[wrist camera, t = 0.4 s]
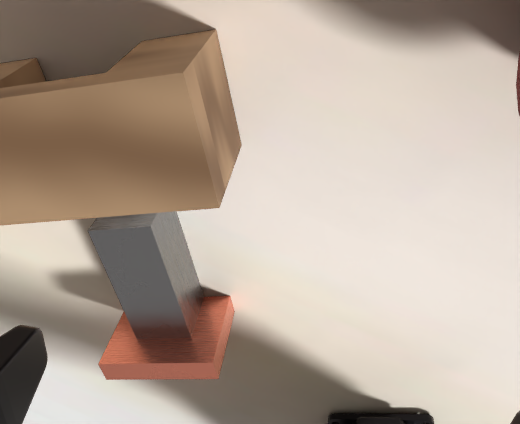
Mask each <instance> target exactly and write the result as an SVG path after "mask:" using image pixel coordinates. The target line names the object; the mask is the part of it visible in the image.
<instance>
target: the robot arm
mask: <svg viewBox="0 0 520 424" xmlns="http://www.w3.org/2000/svg"><path fill="white" fill-rule="evenodd" d="M46 365H47V352H46V347H45V343H44V338H43V334H42V331H41V330H40V329H39V328H36V327H31V326H25V325H19V326H17V327H14V328H13V329H11V330H10V331H8V332H7V333H5V334H3V335H2V336H0V424H22V423H23V421H24V418H25V416H26V413H27V411H28V409H29V406H30V404H31V402H32V399H33V397H34V394H35V392H36V390H37V387H38V385H39V383H40V380H41V378H42V375H43V373H44V371H45V368H46ZM328 424H434V419H433V417H432V416H430V415H426V414H331V415H329V416H328ZM511 424H520V411H519V412H518V413H517V414H516V415H515V417H514V419H513V420H512V422H511Z"/></svg>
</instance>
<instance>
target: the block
mask: <svg viewBox="0 0 520 424" xmlns="http://www.w3.org/2000/svg"><path fill="white" fill-rule="evenodd" d="M240 148H241V140H240V136H239V131H238V126H237V122H236V117H235V113H234V108H233V104H232V99H231V95H230V90H229V86H228V81H227V77H226V72H225V68H224V63H223V58H222V54H221V49H220V45H219V40H218V36H217V31H216V30H210V31H203V32H197V33H191V34H184V35H178V36H172V37H165V38H159V39H153V40H146V41H142V42H141V43H139V44H138V45H137V46H136V47H135V48H134V49H132V50H131V51H130V52H129V53H128V54H127V55H126V56H124V57H123V58H122V59H121V60H120V61H119V62H118V63H116V64H115V65H114V66H113V67H112V68H111V69H110V70H108V71H107V72H106V73H101V74H94V75H87V76H81V77H74V78H67V79H60V80H53V81H46V79H45V77H44V75H43V72H42V70H41V68H40V65H39V63H38V61H37V58H32V59H26V60H19V61H13V62H7V63H0V225H11V224H24V223H36V222H49V221H61V220H74V219H86V218H99V217H111V216H124V215H136V214H148V213H161V212H173V211H186V210H198V209H211V208H219V207H220V205H221V202H222V199H223V196H224V193H225V190H226V188H227V185H228V182H229V179H230V176H231V173H232V171H233V168H234V165H235V162H236V159H237V157H238V154H239V151H240Z"/></svg>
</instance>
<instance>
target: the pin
mask: <svg viewBox="0 0 520 424" xmlns="http://www.w3.org/2000/svg"><path fill="white" fill-rule="evenodd" d="M88 232H89V235H90V237H91V239H92V241H93V244H94V246H95V248H96V250H97V252H98V255H99V257H100V259H101V261H102V263H103V266H104V268H105V270H106V272H107V274H108V277H109V279H110V281H111V283H112V286H113V288H114V290H115V292H116V294H117V297H118V299H119V301H120V303H121V305H122V308H123V310H124V313H123V315H122V317H121V319H120V321H119V323H118V325H117V327H116V329H115V331H114V333H113V335H112V337H111V339H110V341H109V343H108V345H107V347H106V349H105V351H104V353H103V356H102V358H101V360H100V362H99V366H100V368H101V370H102V372H103V374H104V376H105V378H106V379H107V380H113V379H219V375H220V370H221V366H222V362H223V358H224V354H225V349H226V345H227V341H228V337H229V333H230V328H231V324H232V320H233V316H234V312H235V311H234V308H233V304H232V301H231V297H230V296H214V297H204V295H203V292H202V289H201V286H200V283H199V280H198V277H197V274H196V270H195V267H194V264H193V261H192V258H191V255H190V252H189V249H188V246H187V243H186V240H185V237H184V234H183V230H182V227H181V224H180V221H179V218H178V215H177V212H176V211H173V212H161V213H148V214H136V215H124V216H111V217H99V218H96V220H95V221H94V223H93V224H92V225H91V227H90V228H89V230H88Z"/></svg>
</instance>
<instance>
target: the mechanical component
mask: <svg viewBox="0 0 520 424" xmlns="http://www.w3.org/2000/svg"><path fill="white" fill-rule="evenodd" d="M516 88H517V100H518V111H519V115H520V53H519V59H518V71H517V82H516Z"/></svg>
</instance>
